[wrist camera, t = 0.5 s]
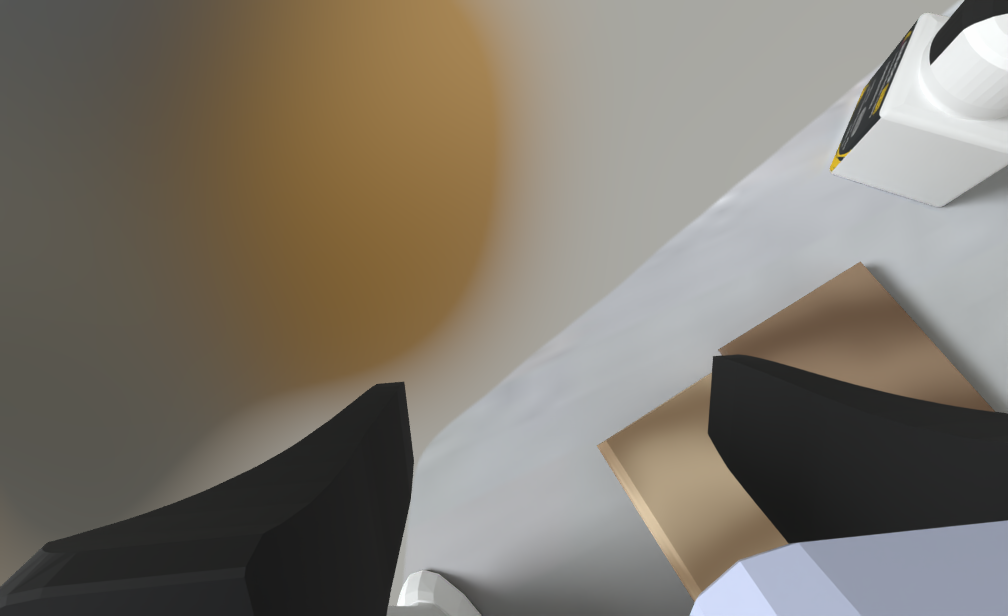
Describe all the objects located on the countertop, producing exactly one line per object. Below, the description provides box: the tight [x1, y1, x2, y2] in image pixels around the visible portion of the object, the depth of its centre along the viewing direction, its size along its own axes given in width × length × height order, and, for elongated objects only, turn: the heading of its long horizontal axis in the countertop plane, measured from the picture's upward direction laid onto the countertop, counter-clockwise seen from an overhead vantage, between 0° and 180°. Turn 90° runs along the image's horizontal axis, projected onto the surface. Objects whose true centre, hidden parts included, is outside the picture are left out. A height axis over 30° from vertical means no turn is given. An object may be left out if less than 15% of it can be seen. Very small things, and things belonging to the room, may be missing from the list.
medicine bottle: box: [829, 0, 1008, 207], centre depth 28 cm, size 7×7×12 cm
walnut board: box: [719, 262, 995, 412], centre depth 30 cm, size 20×10×2 cm, turn 31°
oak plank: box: [597, 373, 789, 602], centre depth 28 cm, size 18×10×2 cm, turn 31°
